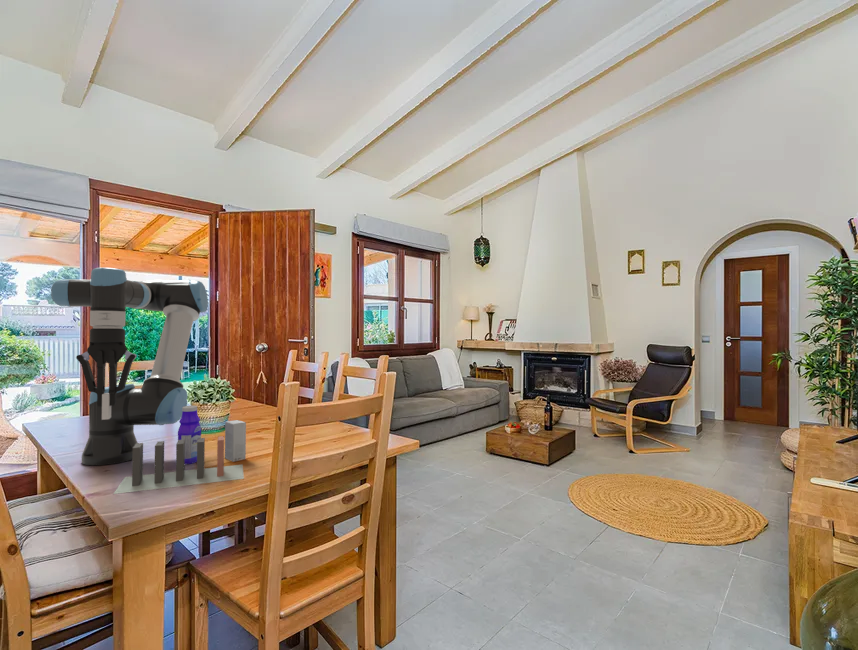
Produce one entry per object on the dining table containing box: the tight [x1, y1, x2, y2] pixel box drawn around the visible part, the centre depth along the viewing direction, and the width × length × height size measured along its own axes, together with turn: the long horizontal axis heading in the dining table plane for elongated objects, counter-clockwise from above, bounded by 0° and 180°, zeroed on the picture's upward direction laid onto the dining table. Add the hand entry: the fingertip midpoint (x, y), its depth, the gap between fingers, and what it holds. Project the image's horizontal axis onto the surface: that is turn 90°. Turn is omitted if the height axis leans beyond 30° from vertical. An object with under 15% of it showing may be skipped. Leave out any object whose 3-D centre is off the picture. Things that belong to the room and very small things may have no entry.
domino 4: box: [196, 437, 206, 479], centre depth 126 cm, size 2×5×10 cm, turn 24°
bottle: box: [177, 405, 202, 465], centre depth 140 cm, size 7×6×17 cm
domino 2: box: [154, 440, 165, 484], centre depth 122 cm, size 2×5×10 cm, turn 24°
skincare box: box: [224, 419, 247, 462], centre depth 143 cm, size 6×4×12 cm
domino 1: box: [131, 442, 144, 486], centre depth 120 cm, size 2×5×10 cm, turn 24°
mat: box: [113, 463, 245, 495], centre depth 124 cm, size 30×14×1 cm, turn 114°
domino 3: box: [175, 439, 186, 481], centre depth 124 cm, size 2×5×10 cm, turn 24°
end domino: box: [216, 435, 225, 477], centre depth 128 cm, size 2×5×10 cm, turn 24°
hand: (106, 418), depth 117 cm, fingers closed
